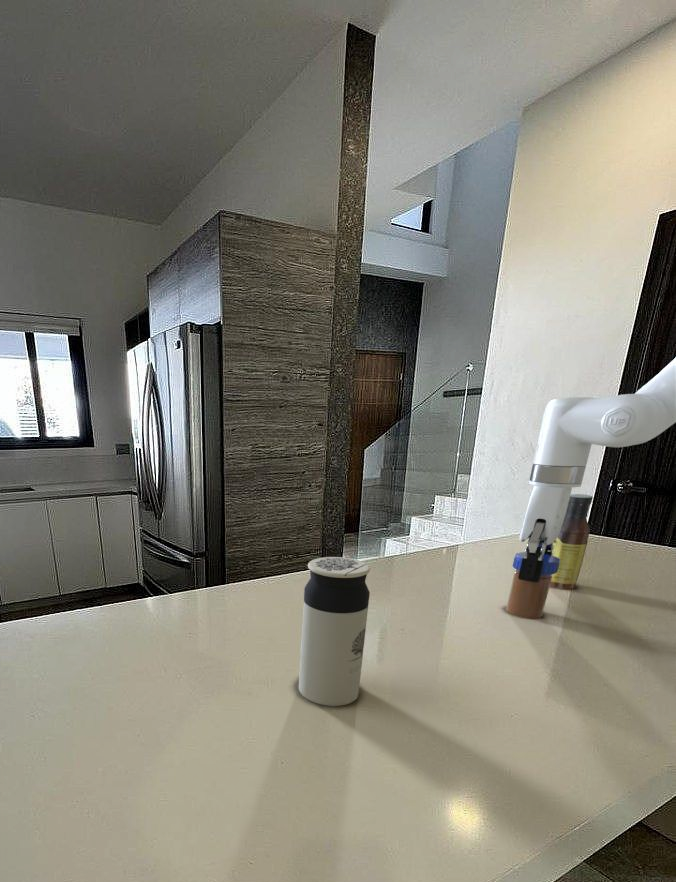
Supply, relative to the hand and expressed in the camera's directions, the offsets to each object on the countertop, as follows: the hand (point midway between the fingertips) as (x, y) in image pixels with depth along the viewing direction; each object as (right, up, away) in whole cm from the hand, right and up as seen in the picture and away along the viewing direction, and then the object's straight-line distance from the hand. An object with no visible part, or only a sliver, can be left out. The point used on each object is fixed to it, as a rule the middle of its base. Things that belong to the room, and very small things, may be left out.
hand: (532, 574), depth 88 cm
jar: (0, -7, +3) cm, 8 cm away
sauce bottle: (+17, -2, +17) cm, 24 cm away
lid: (0, +3, -1) cm, 3 cm away
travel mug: (-42, -17, -23) cm, 51 cm away
